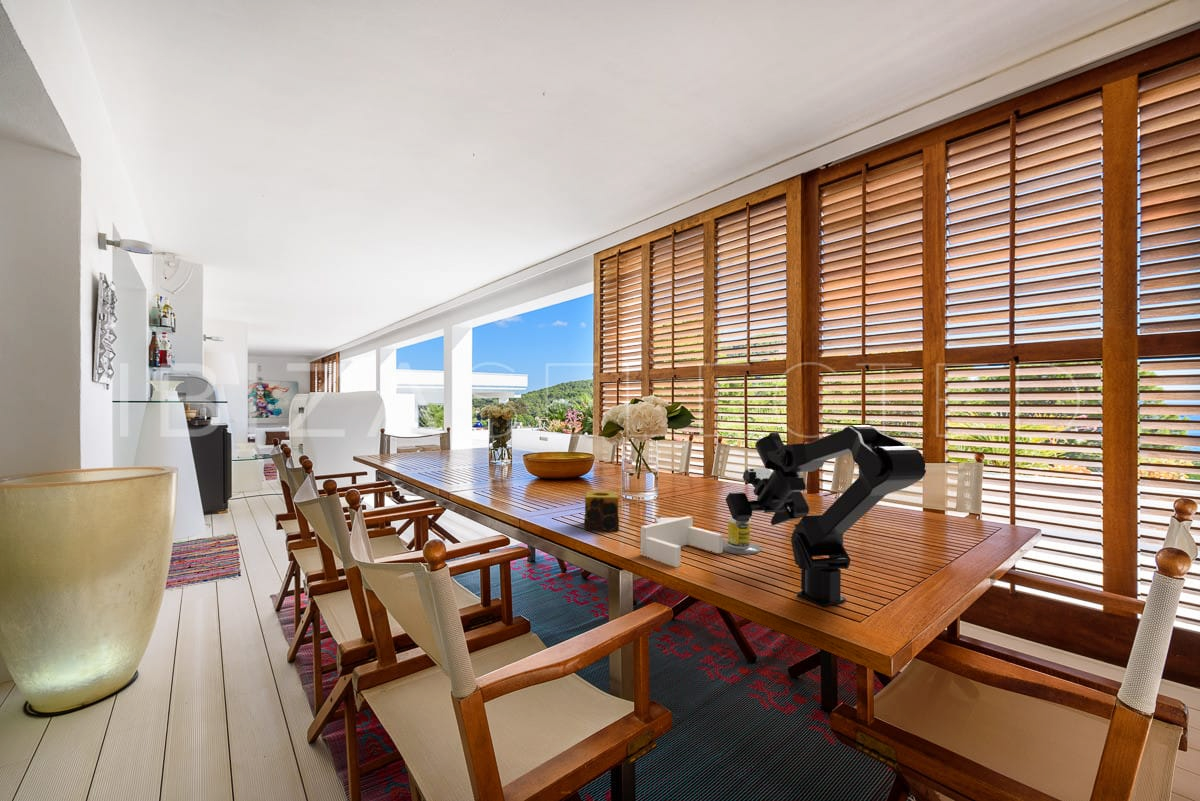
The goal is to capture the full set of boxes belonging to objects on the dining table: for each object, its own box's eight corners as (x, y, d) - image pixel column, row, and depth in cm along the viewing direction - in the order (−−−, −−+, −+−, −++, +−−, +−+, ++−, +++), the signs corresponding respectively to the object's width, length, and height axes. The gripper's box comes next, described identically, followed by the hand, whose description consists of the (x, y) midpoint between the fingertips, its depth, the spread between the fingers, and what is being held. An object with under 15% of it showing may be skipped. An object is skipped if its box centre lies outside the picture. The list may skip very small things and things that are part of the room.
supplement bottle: (739, 550, 126) (739, 511, 126) (723, 545, 131) (724, 507, 131) (754, 547, 129) (754, 509, 129) (738, 542, 133) (739, 505, 133)
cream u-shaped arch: (722, 552, 126) (723, 524, 126) (675, 567, 115) (676, 536, 115) (687, 542, 135) (687, 516, 135) (640, 554, 123) (640, 526, 123)
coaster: (770, 550, 128) (770, 549, 128) (737, 556, 122) (737, 555, 122) (739, 539, 137) (739, 538, 137) (707, 545, 132) (707, 543, 132)
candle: (619, 532, 144) (619, 497, 144) (583, 531, 145) (584, 497, 145) (618, 523, 155) (618, 490, 155) (585, 522, 155) (585, 490, 155)
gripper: (802, 457, 119) (776, 495, 129) (729, 458, 115) (708, 498, 126) (823, 496, 111) (794, 533, 122) (746, 499, 107) (723, 537, 118)
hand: (754, 524), depth 122 cm, fingers open, 9 cm apart
